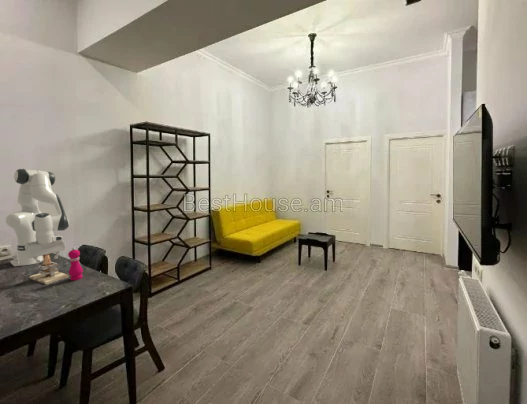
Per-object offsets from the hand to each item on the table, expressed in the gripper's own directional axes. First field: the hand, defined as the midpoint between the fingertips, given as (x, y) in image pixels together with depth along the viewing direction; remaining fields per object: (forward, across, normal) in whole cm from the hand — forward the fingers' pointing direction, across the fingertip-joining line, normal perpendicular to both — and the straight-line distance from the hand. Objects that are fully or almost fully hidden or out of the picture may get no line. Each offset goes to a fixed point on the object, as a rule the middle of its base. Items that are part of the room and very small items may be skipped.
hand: (47, 260), depth 166 cm
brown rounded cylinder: (+10, 0, 0) cm, 10 cm away
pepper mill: (+11, +7, -17) cm, 22 cm away
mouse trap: (+11, 0, 0) cm, 11 cm away
